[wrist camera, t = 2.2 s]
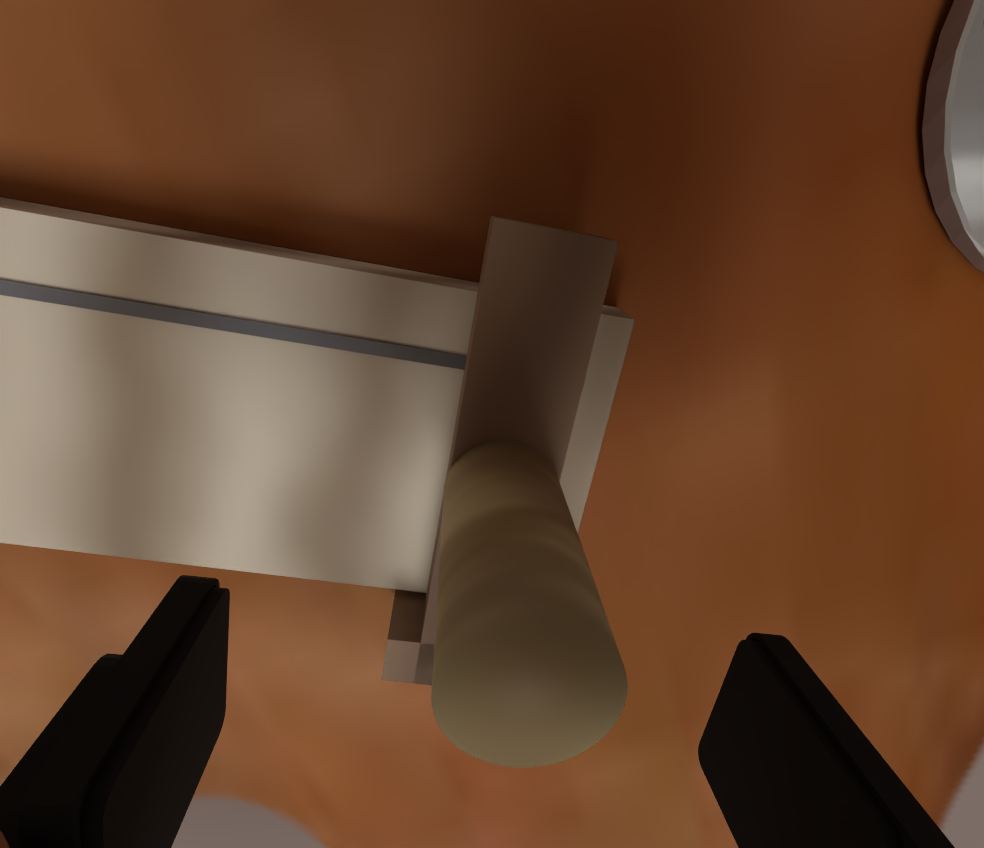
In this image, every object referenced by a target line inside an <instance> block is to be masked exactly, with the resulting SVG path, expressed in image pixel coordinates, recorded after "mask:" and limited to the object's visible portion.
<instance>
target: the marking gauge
mask: <svg viewBox="0 0 984 848" xmlns="http://www.w3.org/2000/svg"><path fill="white" fill-rule="evenodd" d="M618 243H619V241H616V240H612V239H608V238H605V237H600V236H595V235H589V234H584V233H579V232H574V231H569V230H563V229H558V228H553V227H548V226H543V225H537V224H532V223H527V222H522V221H517V220H511V219H506V218H501V217H496V216H491V217H490V223H489V229H488V235H487V240H486V246H485V252H484V258H483V264H482V270H481V276H480V281H479V287H478V293H477V299H476V305H475V311H474V317H473V322H472V328H471V334H470V340H469V346H468V352H467V358H466V364H465V369H464V375H463V381H462V387H461V393H460V399H459V405H458V410H457V416H456V422H455V428H454V434H453V440H452V446H451V451H450V457H449V463H448V469H447V475H446V480H445V484H444V491H443V498H442V504H441V510H440V516H439V522H438V528H437V533H436V539H435V545H434V551H433V557H432V563H431V569H430V574H429V580H428V586H427V592H426V593H424V592H415V591H407V590H398V589H396V592H395V598H394V604H393V610H392V616H391V622H390V628H389V634H388V640H387V647H386V654H385V661H384V667H383V674H382V680H386V681H396V682H406V683H416V684H426V685H432V694H431V699H432V709H433V713H434V716H435V719H436V721H437V723H438V726H439V727H440V729H441V730H442V732H443V733H444V735H445V736H446V737H447V738H448V739H449V740H450V741H451V742H452V743H453V744H454V745H455V746H457V747H458V748H459V749H461V750H462V751H464V752H465V753H467V754H469V755H471V756H473V757H475V758H477V759H479V760H482V761H485V762H488V763H492V764H496V765H500V766H507V767H537V766H544V765H549V764H553V763H557V762H561V761H563V760H566V759H569V758H571V757H574V756H576V755H578V754H580V753H582V752H584V751H585V750H587V749H589V748H590V747H592V746H593V745H594V744H596V743H597V742H598V741H600V740H601V739H602V738H603V737H604V736H605V735H606V734H607V733H608V732H609V731H610V729H611V728H612V727H613V726H614V725H615V723H616V721H617V720H618V718H619V716H620V715H621V712H622V710H623V708H624V705H625V701H626V697H627V687H628V686H627V676H626V672H625V668H624V665H623V662H622V659H621V657H620V654H619V651H618V648H617V645H616V642H615V639H614V636H613V634H612V631H611V628H610V625H609V622H608V619H607V616H606V614H605V611H604V608H603V605H602V602H601V599H600V596H599V593H598V591H597V588H596V585H595V582H594V579H593V576H592V573H591V571H590V568H589V565H588V562H587V559H586V556H585V553H584V551H583V548H582V545H581V542H580V539H579V536H578V533H577V530H576V528H575V525H574V522H573V519H572V516H571V513H570V510H569V508H568V505H567V502H566V499H565V496H564V493H563V490H562V488H561V485H560V478H561V474H562V470H563V466H564V462H565V458H566V453H567V449H568V445H569V441H570V437H571V433H572V429H573V425H574V421H575V417H576V413H577V409H578V405H579V401H580V397H581V393H582V389H583V385H584V381H585V377H586V373H587V369H588V365H589V361H590V357H591V352H592V348H593V344H594V340H595V336H596V332H597V328H598V324H599V320H600V316H601V312H602V308H603V304H604V300H605V296H606V292H607V288H608V284H609V280H610V276H611V272H612V268H613V264H614V260H615V255H616V251H617V247H618Z"/></svg>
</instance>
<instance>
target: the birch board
mask: <svg viewBox="0 0 984 848" xmlns="http://www.w3.org/2000/svg"><path fill="white" fill-rule="evenodd" d="M478 287H479V283H478V282H472V281H466V280H461V279H455V278H450V277H444V276H438V275H433V274H427V273H422V272H416V271H411V270H405V269H399V268H394V267H388V266H383V265H377V264H371V263H366V262H360V261H355V260H349V259H343V258H338V257H332V256H327V255H321V254H316V253H310V252H304V251H299V250H293V249H288V248H282V247H276V246H271V245H265V244H260V243H254V242H249V241H243V240H237V239H232V238H226V237H221V236H215V235H209V234H204V233H198V232H193V231H187V230H181V229H176V228H170V227H165V226H159V225H154V224H148V223H142V222H137V221H131V220H126V219H120V218H114V217H109V216H103V215H98V214H92V213H86V212H81V211H75V210H70V209H64V208H59V207H53V206H47V205H42V204H36V203H31V202H25V201H19V200H14V199H8V198H3V197H0V543H8V544H16V545H25V546H33V547H42V548H50V549H59V550H67V551H76V552H84V553H93V554H101V555H110V556H118V557H127V558H135V559H144V560H152V561H161V562H169V563H178V564H186V565H194V566H203V567H211V568H220V569H228V570H237V571H245V572H254V573H262V574H271V575H279V576H288V577H296V578H305V579H313V580H322V581H330V582H339V583H347V584H356V585H364V586H373V587H381V588H390V589H398V590H407V591H415V592H424V593H426V592H427V586H428V580H429V574H430V569H431V563H432V557H433V551H434V545H435V539H436V533H437V528H438V522H439V516H440V510H441V504H442V498H443V491H444V484H445V480H446V475H447V469H448V463H449V457H450V451H451V446H452V440H453V434H454V428H455V422H456V416H457V410H458V405H459V399H460V393H461V387H462V381H463V375H464V369H465V364H466V358H467V352H468V346H469V340H470V334H471V328H472V322H473V317H474V311H475V305H476V299H477V293H478ZM634 321H635V320H634V319H633V318H631V317H630V316H629V315H627V314H626V313H624V312H623V311H621V310H620V309H619V308H617V307H612V306H606V305H603V308H602V312H601V316H600V320H599V324H598V328H597V332H596V336H595V340H594V344H593V348H592V352H591V357H590V361H589V365H588V369H587V373H586V377H585V381H584V385H583V389H582V393H581V397H580V401H579V405H578V409H577V413H576V417H575V421H574V425H573V429H572V433H571V437H570V441H569V445H568V449H567V453H566V458H565V462H564V466H563V470H562V474H561V478H560V485H561V488H562V490H563V493H564V496H565V499H566V502H567V505H568V508H569V510H570V513H571V516H572V519H573V522H574V525H575V528H576V530H577V533H578V529H579V526H580V522H581V518H582V515H583V511H584V507H585V503H586V500H587V496H588V492H589V489H590V485H591V481H592V477H593V474H594V470H595V466H596V463H597V459H598V455H599V451H600V448H601V444H602V440H603V437H604V433H605V429H606V425H607V422H608V418H609V414H610V410H611V407H612V403H613V399H614V396H615V392H616V388H617V384H618V381H619V377H620V373H621V370H622V366H623V362H624V358H625V355H626V351H627V347H628V344H629V340H630V336H631V332H632V329H633V325H634Z"/></svg>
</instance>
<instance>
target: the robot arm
mask: <svg viewBox="0 0 984 848" xmlns="http://www.w3.org/2000/svg"><path fill="white" fill-rule="evenodd" d="M922 138H923V152H924V167H925V176H926V179H927V183H928V187H929V190H930V194H931V197H932V201H933V205H934V208H935V212H936V214H937V215H938V217H939V219H940V221H941V223H942V225H943V227H944V228H945V230H946V232H947V234H948V236H949V238H950V239H951V241H952V243H953V244H954V245H955V246H956V247H957V248H958V250H959V251H960V252H961V253H962V254H963V255H964V256H965V257H966V258H967V259H968V260H969V261H970V263H971V264H972V265H973V266H974V267H975V268H977V269H978V270H980V271H981V272H983V273H984V0H954V2H953V5H952V7H951V9H950V12H949V14H948V16H947V19H946V21H945V23H944V26H943V28H942V30H941V33H940V37H939V40H938V44H937V48H936V51H935V55H934V59H933V63H932V66H931V70H930V74H929V78H928V81H927V88H926V98H925V107H924V117H923V126H922ZM229 601H230V592H229V589H227V588H220V587H219V581H218V579H216V578H207V577H197V576H187V575H182V576H180V577H179V578H178V579H177V580H176V582H175V583H174V585H173V586H172V587H171V589H170V590H169V592H168V593H167V594H166V596H165V597H164V598H163V600H162V601H161V603H160V604H159V605H158V607H157V608H156V610H155V611H154V612H153V614H152V615H151V616H150V618H149V619H148V621H147V622H146V623H145V625H144V626H143V628H142V629H141V630H140V632H139V633H138V635H137V636H136V637H135V639H134V640H133V641H132V643H131V644H130V646H129V647H128V648H127V650H126V651H125V653H124V654H123V655H118V654H106V655H104V656H102V657H101V658H100V659H99V660H98V661H97V662H96V663H95V664H94V665H93V667H92V668H91V669H90V670H89V672H88V673H87V674H86V676H85V677H84V678H83V680H82V681H81V682H80V683H79V685H78V686H77V687H76V689H75V690H74V691H73V693H72V694H71V695H70V697H69V698H68V699H67V700H66V702H65V703H64V704H63V706H62V707H61V708H60V710H59V711H58V712H57V713H56V715H55V716H54V717H53V719H52V720H51V721H50V723H49V724H48V725H47V726H46V728H45V729H44V730H43V732H42V733H41V734H40V736H39V737H38V738H37V739H36V741H35V742H34V743H33V745H32V746H31V747H30V749H29V750H28V751H27V752H26V754H25V755H24V756H23V758H22V759H21V760H20V762H19V763H18V764H17V765H16V767H15V768H14V769H13V771H12V772H11V773H10V775H9V776H8V777H7V778H6V780H5V781H4V782H3V784H2V785H1V786H0V848H171V847H172V844H173V842H174V839H175V837H176V835H177V833H178V830H179V828H180V825H181V823H182V821H183V818H184V816H185V814H186V811H187V809H188V807H189V804H190V802H191V800H192V797H193V795H194V793H195V790H196V788H197V786H198V783H199V781H200V779H201V776H202V774H203V772H204V769H205V767H206V765H207V762H208V760H209V758H210V755H211V753H212V751H213V748H214V746H215V744H216V741H217V739H218V737H219V734H220V731H221V728H222V725H223V721H224V717H225V709H226V684H227V656H228V629H229ZM698 756H699V761H700V765H701V767H702V770H703V772H704V774H705V776H706V778H707V780H708V783H709V785H710V787H711V789H712V791H713V793H714V796H715V798H716V800H717V802H718V804H719V806H720V809H721V811H722V813H723V815H724V817H725V819H726V822H727V824H728V826H729V828H730V830H731V832H732V835H733V837H734V839H735V841H736V843H737V845H738V847H739V848H954V846H953V845H952V844H951V842H950V841H949V840H948V839H947V837H946V836H945V835H944V834H943V832H942V831H941V830H940V829H939V827H938V826H937V825H936V824H935V822H934V821H933V820H932V819H931V817H930V816H929V815H928V814H927V812H926V811H925V810H924V809H923V807H922V806H921V805H920V804H919V803H918V801H917V800H916V799H915V798H914V796H913V795H912V794H911V793H910V791H909V790H908V789H907V788H906V786H905V785H904V784H903V783H902V781H901V780H900V779H899V778H898V776H897V775H896V774H895V773H894V771H893V770H892V769H891V768H890V766H889V765H888V764H887V763H886V761H885V760H884V759H883V758H882V756H881V755H880V754H879V753H878V751H877V750H876V749H875V748H874V746H873V745H872V744H871V743H870V741H869V740H868V739H867V738H866V736H865V735H864V734H863V733H862V731H861V730H860V729H859V728H858V726H857V725H856V724H855V723H854V721H853V720H852V719H851V718H850V716H849V715H848V714H847V713H846V711H845V710H844V709H843V708H842V706H841V705H840V704H839V703H838V701H837V700H836V699H835V698H834V696H833V695H832V694H831V693H830V691H829V690H828V689H827V688H826V686H825V685H824V684H823V683H822V681H821V680H820V679H819V678H818V676H817V675H816V674H815V673H814V671H813V670H812V669H811V668H810V666H809V665H808V664H807V663H806V661H805V660H804V659H803V658H802V656H801V655H800V654H799V653H798V651H797V650H796V649H795V648H794V646H793V645H792V644H791V643H790V641H789V640H788V639H786V638H785V637H783V636H781V635H772V634H762V633H751V634H750V635H749V636H747V638H746V640H742V641H741V642H740V643H739V644H738V646H737V649H736V651H735V654H734V656H733V659H732V661H731V664H730V667H729V669H728V672H727V674H726V677H725V679H724V682H723V684H722V687H721V689H720V692H719V695H718V697H717V700H716V702H715V705H714V707H713V710H712V712H711V715H710V717H709V720H708V723H707V725H706V728H705V730H704V733H703V735H702V738H701V740H700V743H699V748H698Z"/></svg>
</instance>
